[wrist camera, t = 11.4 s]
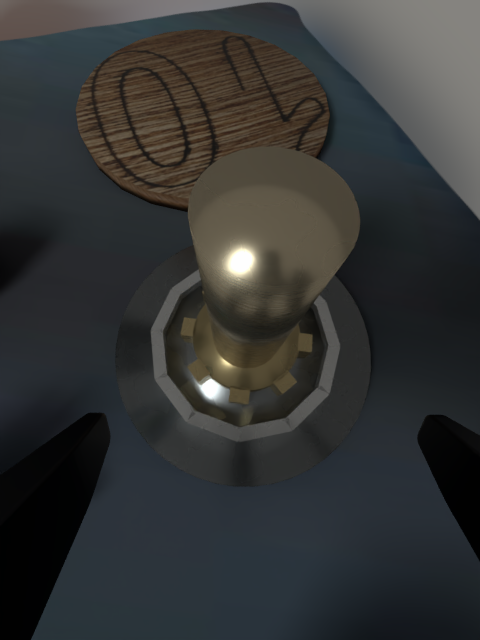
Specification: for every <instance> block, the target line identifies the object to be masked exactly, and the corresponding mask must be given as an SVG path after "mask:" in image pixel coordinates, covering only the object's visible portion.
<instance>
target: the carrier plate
mask: <svg viewBox="0 0 480 640" xmlns="http://www.w3.org/2000/svg"><path fill="white" fill-rule="evenodd" d="M202 291H203V288H202V283H201V278H200V273H199V268H198V263H197V259H196V254H195V249H194V245H193V246H190V247H188V248H186V249H184V250H182V251H180V252H178V253H177V254H175V255H173V256H171V257H170V258H169V259H167V260H166V261H165V262H163V263H162V264H161V265H159V266H158V267H157V268H156V269H155V270H154V271H153V272H152V273H151V274H150V275H149V276H148V277H147V278H146V279H145V280H144V282H143V283H142V284H141V285H140V287H139V288H138V289H137V291H136V293H135V294H134V296H133V297H132V299H131V301H130V303H129V305H128V307H127V309H126V311H125V313H124V316H123V319H122V322H121V325H120V328H119V332H118V338H117V344H116V362H115V364H116V374H117V382H118V386H119V390H120V394H121V398H122V400H123V403H124V405H125V408H126V410H127V413H128V415H129V417H130V418H131V420H132V422H133V424H134V425H135V427H136V429H137V430H138V432H139V433H140V434H141V435H142V437H143V438H144V439H145V440H146V442H147V443H148V444H149V445H150V446H151V447H152V448H153V449H154V450H155V451H156V452H157V453H158V454H159V455H160V456H162V457H163V458H164V459H165V460H167V461H168V462H170V463H171V464H173V465H174V466H176V467H177V468H178V469H180V470H182V471H184V472H186V473H188V474H191V475H193V476H195V477H197V478H200V479H203V480H206V481H209V482H213V483H216V484H223V485H229V486H261V485H267V484H274V483H277V482H280V481H284V480H287V479H290V478H293V477H295V476H297V475H299V474H301V473H303V472H305V471H307V470H309V469H311V468H312V467H314V466H315V465H317V464H318V463H320V462H321V461H323V460H324V459H325V458H326V457H327V456H329V455H330V454H331V453H332V452H333V451H334V450H335V449H336V448H337V447H338V446H339V445H340V444H341V442H342V441H343V440H344V439H345V437H346V436H347V435H348V434H349V432H350V431H351V429H352V427H353V426H354V424H355V422H356V420H357V419H358V417H359V415H360V412H361V410H362V407H363V405H364V402H365V399H366V395H367V391H368V387H369V381H370V372H371V352H370V345H369V339H368V334H367V331H366V327H365V324H364V321H363V318H362V316H361V314H360V311H359V309H358V307H357V305H356V303H355V302H354V300H353V298H352V296H351V295H350V293H349V292H348V290H347V289H346V288H345V287H344V285H343V284H342V283H341V281H340V280H339V279H338V278H337V277H336V276H335V275H334V276H333V277H332V279H331V280H330V281H329V283H328V284H327V285H326V287H325V288H324V289H323V291H322V292H321V294H320V295H319V296H318V298H317V299H316V300H315V302H314V303H313V304H312V306H311V307H310V308H309V310H308V311H307V312H306V314H305V315H304V316H303V318H302V319H301V320H300V322H299V323H298V325H299V328H300V333H304V334H312V353H310V354H309V355H308V356H307V357H305V358H300V357H297V359H296V361H295V363H294V365H293V366H292V368H291V369H290V370H289V372H290V374H291V375H292V376H293V377H294V378H295V380H296V381H297V383H295V384H294V385H293V386H292V387H291V388H289V389H288V390H287V391H286V392H285V393H283V394H282V395H280V396H277V395H276V394H275V392H274V391H273V390H272V389H271V387H268V388H266V389H263V390H260V391H256V392H250V395H249V404H248V405H242V404H235V403H229V394H230V390H229V389H226V388H224V387H222V386H220V385H219V384H217V383H216V382H214V381H213V380H212V379H209V380H208V381H207V382H205V383H204V384H203V385H200V384H199V383H198V382H197V380H196V379H195V378H194V376H193V375H192V373H191V372H190V370H189V369H188V368H187V366H189V365H190V364H192V363H193V362H194V361H196V360H197V359H198V358H197V356H196V353H195V350H194V345H193V343H189V342H184V340H183V338H182V337H181V335H180V334H181V329H182V324H183V320H184V317H186V318H193V319H196V318H197V316H198V314H199V312H200V310H201V309H202V308H203V306H204V305H205V303H204V300H203V295H202Z"/></svg>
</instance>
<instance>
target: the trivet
mask: <svg viewBox="0 0 480 640" xmlns="http://www.w3.org/2000/svg"><path fill="white" fill-rule="evenodd" d="M76 114H77V121H78V129H79V133H80V135H81V137H82V139H83V141H84V143H85V145H86V146H87V148H88V150H89V152H90V154H91V155H92V157H93V159H94V161H95V162H96V164H97V166H98V168H99V169H100V171H102V172H103V173H104V174H105V175H106V176H107V177H108V178H109V179H111V180H112V181H113V182H114V183H115V184H116V185H117V186H119V187H120V188H121V189H122V190H124V191H126V192H128V193H130V194H132V195H134V196H136V197H138V198H140V199H143V200H145V201H147V202H149V203H151V204H154V205H159V206H163V207H168V208H172V209H177V210H181V211H185V212H188V203H189V197H190V194H191V191H192V189H193V187H194V185H195V183H196V181H197V180H198V178H199V177H200V176H201V174H202V173H203V172H204V171H205V170H206V169H207V168H208V167H209V166H211V165H212V164H213V163H214V162H216V161H217V160H219V159H221V158H222V157H224V156H226V155H229V154H231V153H233V152H237V151H240V150H243V149H248V148H255V147H281V148H287V149H292V150H296V151H299V152H302V153H305V154H307V155H310V156H312V157H314V158H316V159H317V157H318V156H319V154H320V152H321V149H322V147H323V144H324V141H325V138H326V133H327V128H328V122H329V117H330V113H329V108H328V103H327V98H326V94H325V92H324V90H323V89H322V87H321V85H320V84H319V82H318V80H317V78H316V77H315V75H314V74H313V73H312V72H311V71H310V70H309V69H308V68H307V67H306V66H305V65H304V64H302V63H301V62H300V61H299V60H298V59H297V58H296V57H294V56H292V55H291V54H289V53H287V52H286V51H284V50H282V49H281V48H279V47H277V46H276V45H273V44H271V43H268V42H265V41H262V40H260V39H257V38H254V37H251V36H248V35H243V34H238V33H232V32H227V31H220V30H185V31H176V32H167V33H163V34H159V35H156V36H152V37H149V38H145V39H141V40H138V41H136V42H134V43H132V44H130V45H128V46H126V47H124V48H122V49H120V50H118V51H116V52H114V53H113V54H112V55H111V56H109V57H108V58H107V59H106V60H104V61H103V62H102V63H101V64H99V65H98V66H97V67H96V68H95V69H94V71H93V72H92V73H91V75H90V76H89V78H88V79H87V80H86V82H85V83H84V85H83V86H82V88H81V92H80V96H79V99H78V103H77V107H76Z"/></svg>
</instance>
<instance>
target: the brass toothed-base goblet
mask: <svg viewBox="0 0 480 640" xmlns="http://www.w3.org/2000/svg"><path fill="white" fill-rule="evenodd" d="M188 219H189V225H190V230H191V235H192V239H193V244H194V249H195V254H196V259H197V263H198V268H199V273H200V278H201V283H202V288H203V291H202V295H203V300H204V303H205V305H204V306H203V308H202V309H201V310H200V312H199V314H198V316H197V318H196V319H193V318H186V317H184V320H183V324H182V329H181V334H180V335H181V337H182V338H183V340H184V342H189V343H193V345H194V350H195V353H196V356H197V358H198V359H197V360H196V361H194V362H193V363H192V364H190V365H189V366H187V368H188V369H189V370H190V372H191V373H192V375H193V376H194V378H195V379H196V380H197V382H198V383H199V384H200V385H203V384H204V383H205V382H207V381H208V380H209V379H212V380H213V381H214V382H216V383H217V384H219V385H220V386H222V387H224V388H226V389H229V390H230V394H229V403H235V404H242V405H248V404H249V395H250V392H256V391H260V390H263V389H266V388H268V387H271V389H272V390H273V391H274V392H275V394H276V395H277V396H280V395H282V394H283V393H285V392H286V391H287V390H288V389H289V388H291V387H292V386H293V385H294V384H295V383H297V381H296V380H295V378H294V377H293V376H292V375H291V374H290V372H289V370H290V369H291V368H292V366H293V365H294V363H295V361H296V359H297V357H300V358H305V357H307V356H308V355H309V354H310V353H312V334H304V333H300V328H299V325H298V323H299V322H300V320H301V319H302V318H303V316H304V315H305V314H306V312H307V311H308V310H309V308H310V307H311V306H312V304H313V303H314V302H315V300H316V299H317V298H318V296H319V295H320V294H321V292H322V291H323V289H324V288H325V287H326V285H327V284H328V283H329V281H330V280H331V279H332V277H333V276H334V275H335V273H336V272H337V271H338V269H339V268H340V267H341V265H342V264H343V263H344V261H345V260H346V259H347V257H348V256H349V254H350V253H351V251H352V249H353V248H354V246H355V243H356V241H357V238H358V234H359V230H360V215H359V209H358V205H357V202H356V199H355V197H354V195H353V193H352V191H351V189H350V188H349V186H348V185H347V184H346V182H345V181H344V180H343V179H342V177H341V176H340V175H338V174H337V173H336V172H335V171H334V170H333V169H332V168H330V167H329V166H328V165H326V164H325V163H323V162H322V161H320V160H318V159H316V158H314V157H312V156H310V155H307V154H305V153H302V152H299V151H296V150H292V149H287V148H281V147H255V148H248V149H243V150H240V151H237V152H233V153H231V154H229V155H226V156H224V157H222V158H221V159H219V160H217V161H216V162H214V163H213V164H212V165H211V166H209V167H208V168H207V169H206V170H205V171H204V172H203V173H202V174H201V176H200V177H199V178H198V180H197V181H196V183H195V185H194V187H193V189H192V191H191V194H190V197H189V203H188Z"/></svg>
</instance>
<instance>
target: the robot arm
mask: <svg viewBox="0 0 480 640" xmlns="http://www.w3.org/2000/svg"><path fill="white" fill-rule="evenodd" d="M417 439H418V444H419V446H420V448H421V450H422V453H423V455H424V457H425V459H426V461H427V463H428V465H429V467H430V470H431V472H432V474H433V476H434V478H435V480H436V482H437V485H438V487H439V489H440V491H441V493H442V495H443V497H444V499H445V501H446V503H447V505H448V506H449V508H450V510H451V512H452V514H453V515H454V517H455V519H456V521H457V522H458V524H459V526H460V528H461V529H462V531H463V533H464V535H465V536H466V538H467V540H468V542H469V543H470V545H471V547H472V549H473V550H474V552H475V554H476V555H477V557H478V559H479V561H480V435H478V434H476V433H475V432H473V431H471V430H469V429H467V428H466V427H464V426H462V425H460V424H459V423H457V422H455V421H453V420H452V419H450V418H448V417H446V416H444V415H427V416H426V417H425V419H424V421H423V423H422V426H421V428H420V431H419V433H418V437H417ZM109 443H110V431H109V426H108V422H107V418H106V415H105V414H104V413H88V414H86V415H84V416H83V417H82V418H80V419H79V420H77V421H76V422H75V423H73V424H72V425H70V426H69V427H68V428H66V429H65V430H63V431H62V432H61V433H59V434H58V435H56V436H55V437H54V438H52V439H51V440H49V441H48V442H47V443H45V444H44V445H42V446H41V447H40V448H38V449H37V450H35V451H34V452H33V453H31V454H30V455H28V456H27V457H26V458H24V459H23V460H21V461H20V462H19V463H17V464H16V465H14V466H13V467H12V468H10V469H9V470H7V471H6V472H4V473H3V474H2V475H0V640H31V638H32V636H33V634H34V632H35V629H36V627H37V625H38V622H39V620H40V618H41V615H42V613H43V611H44V608H45V606H46V604H47V602H48V599H49V597H50V595H51V592H52V590H53V588H54V585H55V583H56V581H57V578H58V576H59V574H60V572H61V569H62V567H63V565H64V562H65V560H66V558H67V555H68V553H69V551H70V548H71V546H72V544H73V542H74V539H75V537H76V535H77V532H78V530H79V528H80V525H81V523H82V521H83V518H84V516H85V514H86V511H87V509H88V506H89V504H90V501H91V499H92V496H93V493H94V490H95V487H96V484H97V481H98V477H99V474H100V471H101V468H102V465H103V462H104V459H105V456H106V453H107V450H108V447H109Z"/></svg>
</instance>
